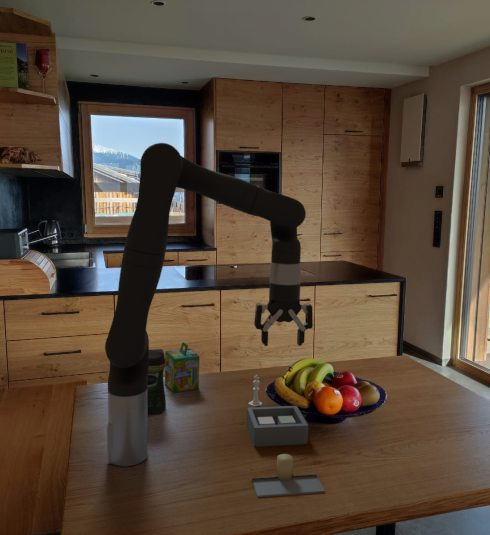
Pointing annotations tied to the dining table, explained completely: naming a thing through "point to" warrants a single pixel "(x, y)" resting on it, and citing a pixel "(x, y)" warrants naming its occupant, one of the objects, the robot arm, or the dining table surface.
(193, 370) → the chalk box
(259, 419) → the cream block
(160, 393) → the coffee jar
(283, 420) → the sage block
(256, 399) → the chess piece
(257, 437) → the box
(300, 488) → the lid
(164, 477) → the dining table surface
